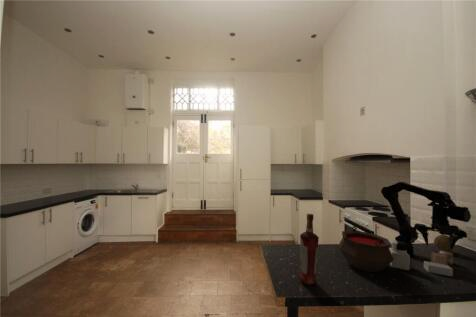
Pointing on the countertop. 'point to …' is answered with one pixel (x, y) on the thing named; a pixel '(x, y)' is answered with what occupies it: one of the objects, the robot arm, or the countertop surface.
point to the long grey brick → (438, 268)
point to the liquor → (308, 253)
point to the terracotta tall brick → (438, 258)
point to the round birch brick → (448, 257)
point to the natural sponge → (443, 243)
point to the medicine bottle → (400, 255)
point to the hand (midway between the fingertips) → (438, 247)
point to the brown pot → (365, 250)
